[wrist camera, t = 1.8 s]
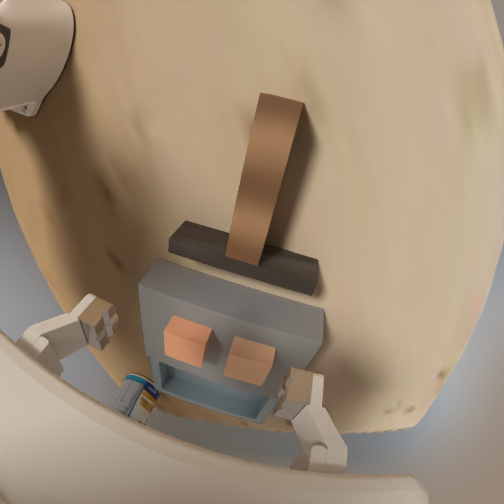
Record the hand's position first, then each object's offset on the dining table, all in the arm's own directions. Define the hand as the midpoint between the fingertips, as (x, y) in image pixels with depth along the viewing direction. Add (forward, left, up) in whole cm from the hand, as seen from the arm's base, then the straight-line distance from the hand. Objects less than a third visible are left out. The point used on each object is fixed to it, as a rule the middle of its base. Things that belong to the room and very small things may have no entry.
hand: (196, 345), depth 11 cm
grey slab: (0, -17, -17) cm, 24 cm away
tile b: (+3, -15, -12) cm, 20 cm away
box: (0, -31, -17) cm, 35 cm away
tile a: (-4, -15, -12) cm, 20 cm away
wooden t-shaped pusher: (0, +3, -17) cm, 17 cm away
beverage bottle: (-15, -46, -17) cm, 52 cm away
